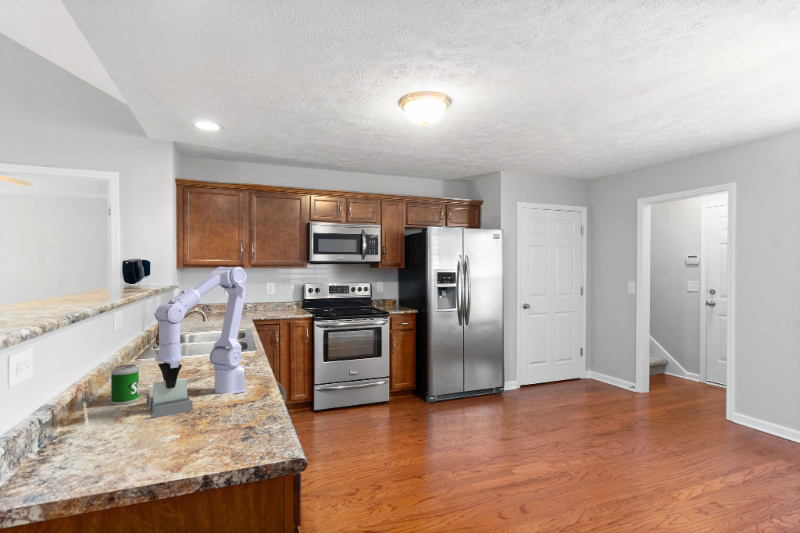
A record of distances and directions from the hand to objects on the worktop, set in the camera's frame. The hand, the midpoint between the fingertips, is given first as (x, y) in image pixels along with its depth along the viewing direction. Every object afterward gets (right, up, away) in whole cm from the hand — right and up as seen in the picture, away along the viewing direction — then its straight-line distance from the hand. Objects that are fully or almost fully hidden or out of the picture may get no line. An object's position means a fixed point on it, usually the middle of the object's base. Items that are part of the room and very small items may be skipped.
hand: (170, 387), depth 130 cm
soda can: (-18, -8, +7) cm, 21 cm away
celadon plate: (0, -4, 0) cm, 4 cm away
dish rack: (-1, -7, +2) cm, 8 cm away
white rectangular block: (-5, -7, +6) cm, 10 cm away
